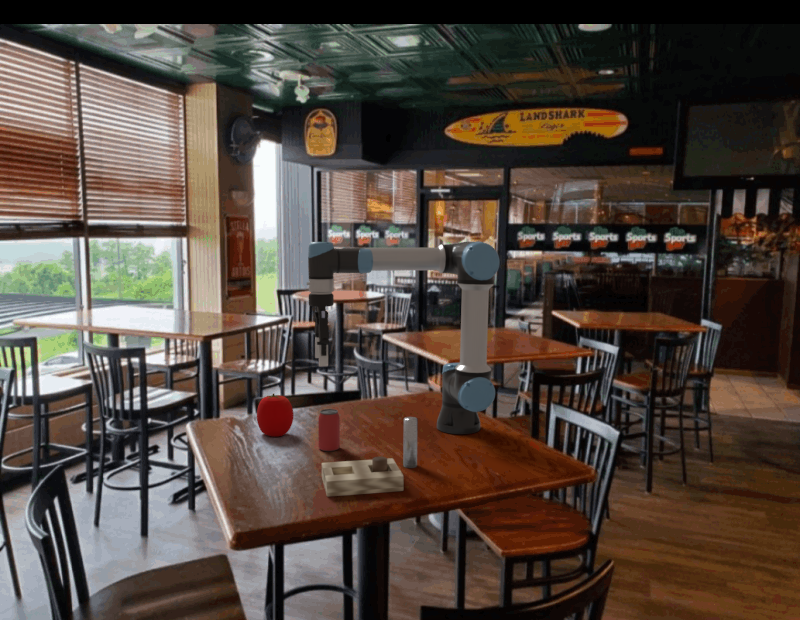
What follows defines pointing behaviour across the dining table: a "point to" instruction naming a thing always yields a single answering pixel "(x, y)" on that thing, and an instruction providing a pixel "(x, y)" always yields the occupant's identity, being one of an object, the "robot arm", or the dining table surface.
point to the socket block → (361, 477)
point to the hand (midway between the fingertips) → (321, 361)
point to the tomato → (274, 415)
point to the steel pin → (410, 442)
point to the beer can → (329, 430)
